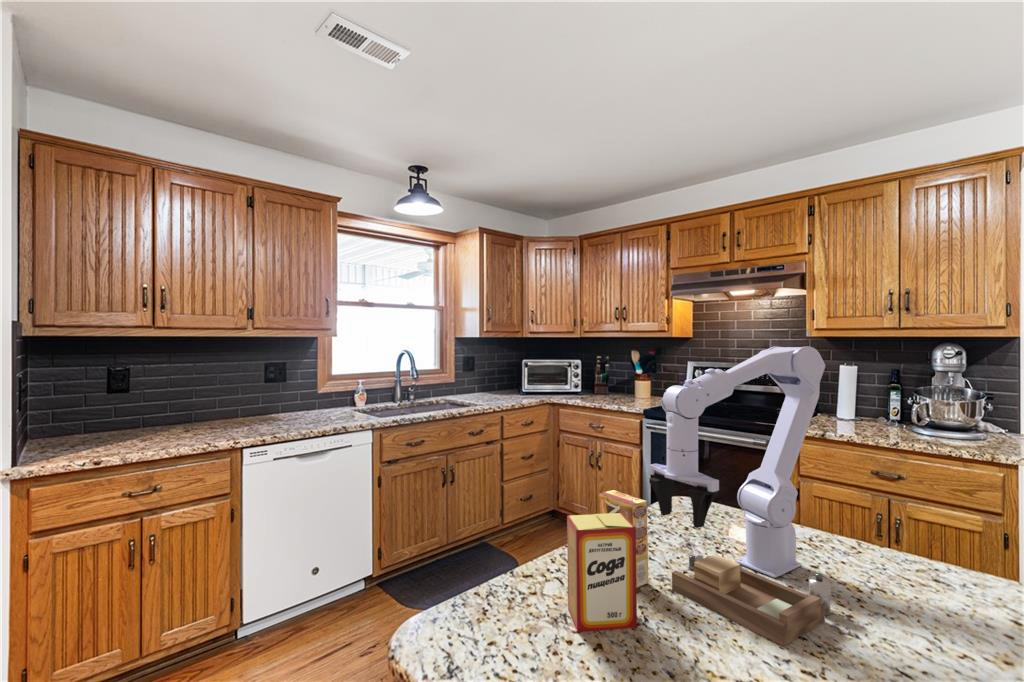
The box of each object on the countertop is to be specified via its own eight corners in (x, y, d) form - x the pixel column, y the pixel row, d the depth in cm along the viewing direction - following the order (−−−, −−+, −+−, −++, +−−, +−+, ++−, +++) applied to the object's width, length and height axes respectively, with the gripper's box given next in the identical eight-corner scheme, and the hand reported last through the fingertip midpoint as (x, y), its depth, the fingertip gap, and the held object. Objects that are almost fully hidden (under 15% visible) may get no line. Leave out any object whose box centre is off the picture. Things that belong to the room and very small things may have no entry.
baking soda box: (577, 632, 75) (576, 527, 75) (568, 609, 82) (567, 513, 82) (636, 627, 76) (635, 524, 76) (623, 605, 83) (622, 510, 83)
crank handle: (697, 559, 101) (697, 546, 101) (703, 561, 100) (703, 547, 100) (688, 570, 96) (688, 556, 96) (694, 572, 95) (694, 558, 95)
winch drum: (814, 604, 83) (814, 568, 83) (834, 612, 80) (833, 575, 80) (805, 609, 81) (804, 572, 81) (824, 617, 79) (824, 580, 79)
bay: (713, 572, 95) (713, 551, 95) (825, 621, 78) (824, 595, 78) (672, 589, 88) (671, 566, 88) (783, 646, 71) (782, 618, 71)
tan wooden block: (716, 575, 91) (715, 554, 91) (741, 586, 87) (740, 564, 87) (693, 584, 88) (693, 562, 88) (718, 596, 83) (718, 573, 83)
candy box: (649, 583, 90) (648, 500, 90) (633, 590, 88) (632, 504, 88) (614, 566, 98) (614, 488, 98) (599, 571, 95) (598, 492, 95)
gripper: (638, 444, 98) (638, 512, 97) (701, 458, 85) (701, 536, 85) (663, 440, 101) (662, 506, 101) (726, 454, 89) (726, 529, 89)
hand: (681, 520), depth 93 cm, fingers open, 7 cm apart
